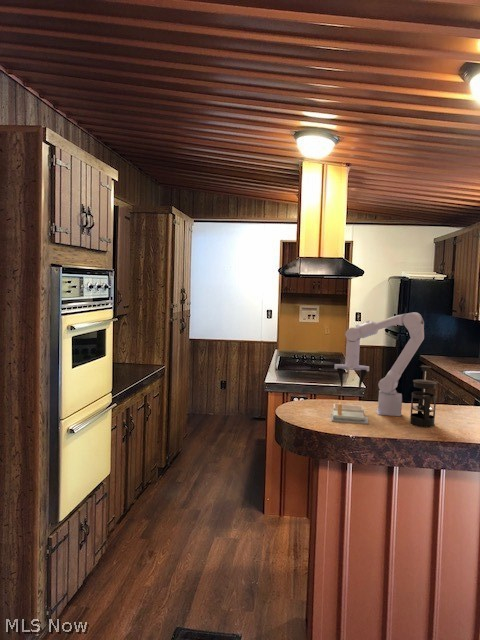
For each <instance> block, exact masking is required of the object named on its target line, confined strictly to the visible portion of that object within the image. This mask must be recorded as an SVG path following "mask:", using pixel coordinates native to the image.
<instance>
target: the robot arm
mask: <svg viewBox="0 0 480 640" xmlns="http://www.w3.org/2000/svg"><path fill="white" fill-rule="evenodd" d="M395 325H398V326H402V327H403V326H404V327H405V328H406V330H407V331H408V333H409V337H410V338H409V339H408V341H407V343H406V344H405V346H404V348H403V349H402V350H401V353H400V354H399V356H398V357H397V359H396V361H394V364H393V365H392V366H391V368H390V370H389V371H388V372H387V374H386V375H384V376H385V377H383V378H381V379H380V380H379V381H378V383H377V384H378V389H379V390H378V400H377V402H378V403H377V404H378V405H377V409H375V411H376V412H375V413H377V415H379V416H389V417H390V416H392V417H402V408H403V407H402V406H403V405H402V404H403V394H402V393H399V392H398V391H397V390H396V388H398V384H399V380H400V378H401V377H402V374H403V373H404V371H405V369H406V368H407V366H408V365H409V363H410V362H411V360H412V358H413V357H414V356H415V354H416V353H417V351H418V349H419V347H420V346H421V344H422V342H423V341H424V339H425V329H424V328H425V321H424V318H423V317H422V314H420V313H419V312H416V311H415V312H408V313H402V314H397V315H395V316H391V317H389V318H386V319H383V320H381V321H378V322H377V321H376V322H375V321H373V320H367V321H365V323H362V324H357V325H355V326H354V327H350V328H348V329H346V331H345V333H344V334H345V335H344V336H345V339H346V345H345V362H344V364H343V363H334V370H337V371H336V372H337V374H338V376H339V381H340V387H343V386H344V385H343V384H344V383H343V379H344V378H343V377H344V370H346V371H347V370H348V371H349V370H350V371H359V382H358V388H360V389H361V388H362V384H363V381H364V379H365V377H366V375H367V372H370V366H367V365H361V364H360V350H361V348H360V347H361V345H360V344H361V339H365V338H368V337H371V336H375V335H377V334H378V332H379V330H383V329H385V328H389V327H393V326H395Z"/></svg>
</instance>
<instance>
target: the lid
mask: <svg viewBox="0 0 480 640" xmlns="http://www.w3.org/2000/svg"><path fill="white" fill-rule="evenodd" d="M337 404H338V411H334V410H333V409H332V414H333V417H335V418H336V419H344V420H357V421H362V420H365V417H364V416H365V415H364V414H363V413H360V412H347V411H342V404H343V403H342V401H341V402H340V401H338V402H337Z"/></svg>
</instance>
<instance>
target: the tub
mask: <svg viewBox="0 0 480 640" xmlns="http://www.w3.org/2000/svg"><path fill="white" fill-rule="evenodd" d="M333 410H334V411H338V403H333V406H332V411H333ZM342 411H347V412H360V413H363V414H364V413H365V409H364V406H363V405H355V404H343V403H342Z"/></svg>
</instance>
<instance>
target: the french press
mask: <svg viewBox="0 0 480 640" xmlns="http://www.w3.org/2000/svg"><path fill="white" fill-rule="evenodd" d="M419 367H420V368H423V369H424V379H413V380H412V382H413V387H414V388H417V389H423V391H412V392H411V402H410V403H411V406H410V418H409V419H410V420H409V424H410V425H411V424H412V426H415V427H420V428H434V427H435V426H436V424H435V417H436V406H437V405H436V403H437V394H435V393H433V392H428V391H427V392H426V390H435V389H436V385H437V384H438V382H437V381H434V380H430V379H429V380H428V379H426V378H427V372H428V369H432V366H430V365H420V366H419ZM414 398H415V399H418V401H417V403H418V404H417V405H414ZM431 401H433V407H431ZM413 411H417V412H414V413H413ZM430 413H432V414H430Z"/></svg>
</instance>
